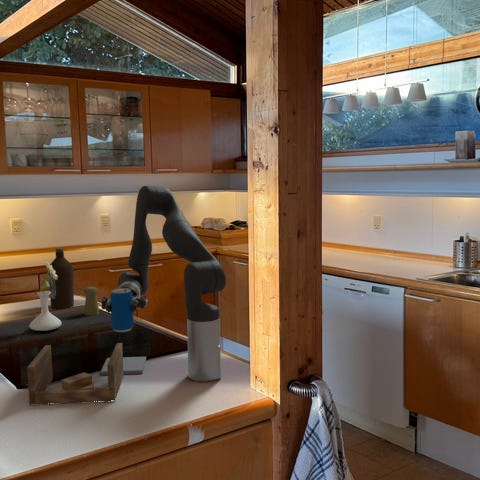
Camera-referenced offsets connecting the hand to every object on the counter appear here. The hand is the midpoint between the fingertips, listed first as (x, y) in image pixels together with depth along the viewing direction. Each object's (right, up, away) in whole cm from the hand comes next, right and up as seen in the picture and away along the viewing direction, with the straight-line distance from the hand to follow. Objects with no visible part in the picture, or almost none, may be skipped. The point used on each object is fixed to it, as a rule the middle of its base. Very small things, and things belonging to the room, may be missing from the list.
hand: (120, 308), depth 174 cm
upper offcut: (-8, -19, -16) cm, 26 cm away
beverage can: (0, -7, +3) cm, 8 cm away
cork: (-25, -10, +68) cm, 73 cm away
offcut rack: (-9, -21, -13) cm, 26 cm away
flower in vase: (-37, -13, +47) cm, 61 cm away
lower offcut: (-9, -21, -15) cm, 28 cm away
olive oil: (-41, -8, +80) cm, 91 cm away
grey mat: (0, -18, +5) cm, 19 cm away
